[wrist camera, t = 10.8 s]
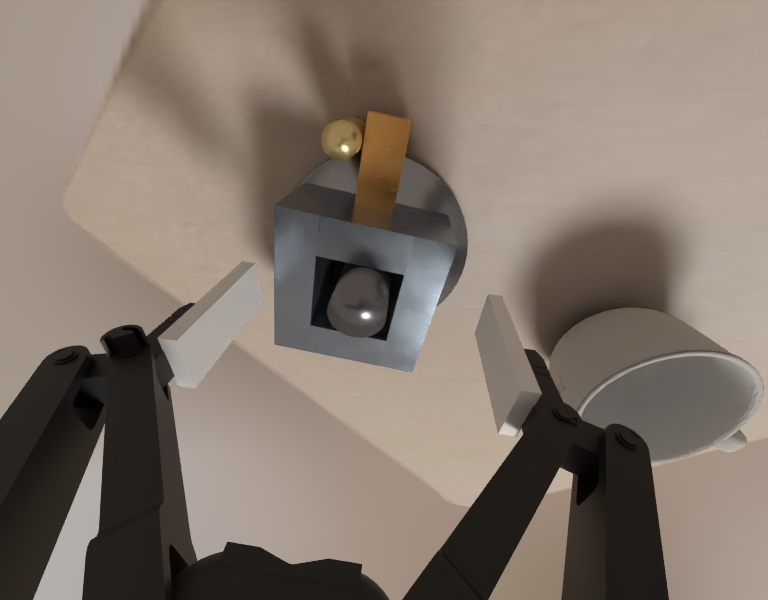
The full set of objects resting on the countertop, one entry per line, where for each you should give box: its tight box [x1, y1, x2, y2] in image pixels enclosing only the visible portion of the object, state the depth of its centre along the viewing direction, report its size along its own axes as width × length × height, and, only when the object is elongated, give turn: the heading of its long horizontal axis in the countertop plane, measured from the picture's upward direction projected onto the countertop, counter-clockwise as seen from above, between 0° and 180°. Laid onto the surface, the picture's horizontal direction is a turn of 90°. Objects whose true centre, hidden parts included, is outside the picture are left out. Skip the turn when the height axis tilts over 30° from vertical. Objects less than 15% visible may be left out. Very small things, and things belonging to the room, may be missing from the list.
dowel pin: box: [321, 117, 366, 162], centre depth 17 cm, size 2×2×5 cm
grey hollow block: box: [274, 110, 458, 372], centre depth 20 cm, size 15×10×6 cm, turn 169°
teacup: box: [549, 307, 764, 464], centre depth 23 cm, size 14×11×8 cm
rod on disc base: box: [295, 150, 468, 338], centre depth 20 cm, size 14×14×9 cm
